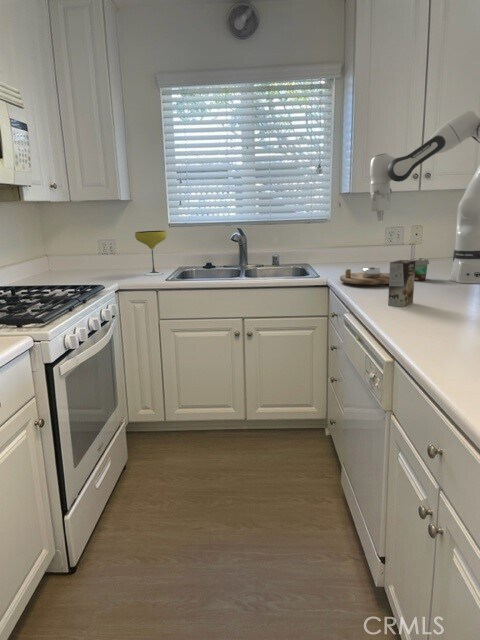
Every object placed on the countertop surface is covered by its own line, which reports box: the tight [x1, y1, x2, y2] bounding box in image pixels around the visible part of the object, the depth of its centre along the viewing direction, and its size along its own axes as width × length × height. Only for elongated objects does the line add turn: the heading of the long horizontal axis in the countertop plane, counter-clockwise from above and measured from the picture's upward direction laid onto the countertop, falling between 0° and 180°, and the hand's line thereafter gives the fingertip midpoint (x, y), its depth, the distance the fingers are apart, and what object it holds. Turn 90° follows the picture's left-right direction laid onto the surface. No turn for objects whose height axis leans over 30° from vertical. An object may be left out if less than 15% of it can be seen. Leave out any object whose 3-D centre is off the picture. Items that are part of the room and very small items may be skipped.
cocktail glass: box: [134, 230, 167, 273], centre depth 277 cm, size 18×18×25 cm
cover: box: [361, 267, 381, 278], centre depth 222 cm, size 8×8×4 cm
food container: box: [414, 257, 430, 282], centre depth 225 cm, size 12×6×10 cm, turn 143°
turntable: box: [339, 268, 390, 286], centre depth 223 cm, size 28×28×5 cm
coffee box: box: [387, 259, 416, 308], centre depth 175 cm, size 9×6×16 cm
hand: (380, 220), depth 224 cm, fingers closed
